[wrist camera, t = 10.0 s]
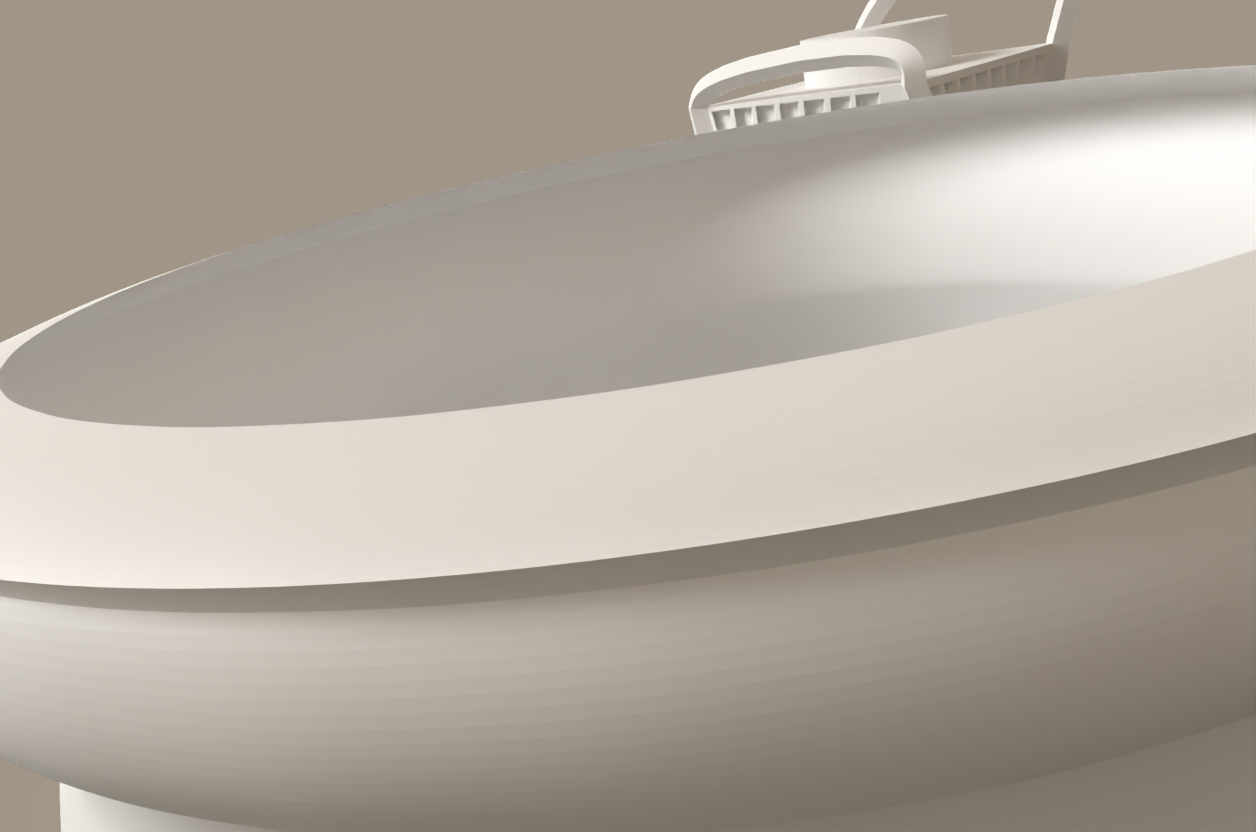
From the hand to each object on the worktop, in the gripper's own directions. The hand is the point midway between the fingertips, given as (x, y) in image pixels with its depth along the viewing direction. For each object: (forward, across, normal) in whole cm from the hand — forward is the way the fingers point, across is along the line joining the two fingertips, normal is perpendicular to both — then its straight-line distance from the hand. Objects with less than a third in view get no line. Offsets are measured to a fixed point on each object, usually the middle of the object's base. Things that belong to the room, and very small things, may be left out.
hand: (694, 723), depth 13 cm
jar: (-4, 0, -8) cm, 9 cm away
